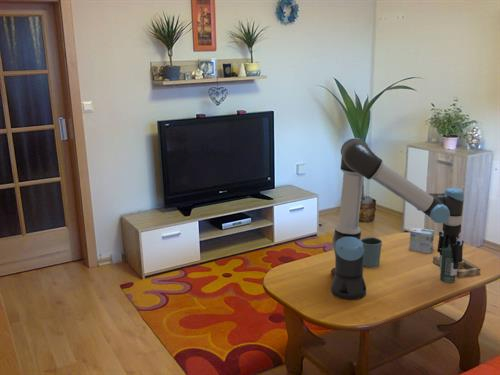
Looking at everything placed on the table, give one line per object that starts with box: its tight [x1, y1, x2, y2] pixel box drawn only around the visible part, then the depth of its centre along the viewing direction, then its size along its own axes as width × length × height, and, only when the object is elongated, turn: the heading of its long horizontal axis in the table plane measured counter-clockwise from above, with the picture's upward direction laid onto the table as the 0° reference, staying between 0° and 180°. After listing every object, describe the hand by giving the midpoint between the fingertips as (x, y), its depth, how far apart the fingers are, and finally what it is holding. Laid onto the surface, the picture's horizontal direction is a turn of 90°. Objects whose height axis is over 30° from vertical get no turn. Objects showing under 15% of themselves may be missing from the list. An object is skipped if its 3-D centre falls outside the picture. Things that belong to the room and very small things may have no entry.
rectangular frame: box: [432, 255, 482, 279], centre depth 242 cm, size 12×19×3 cm, turn 17°
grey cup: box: [360, 236, 383, 268], centre depth 249 cm, size 10×10×12 cm
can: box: [439, 246, 456, 284], centre depth 229 cm, size 6×6×15 cm
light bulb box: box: [409, 226, 435, 254], centre depth 264 cm, size 11×7×11 cm, turn 58°
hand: (448, 271), depth 230 cm, fingers closed on can, 6 cm apart
